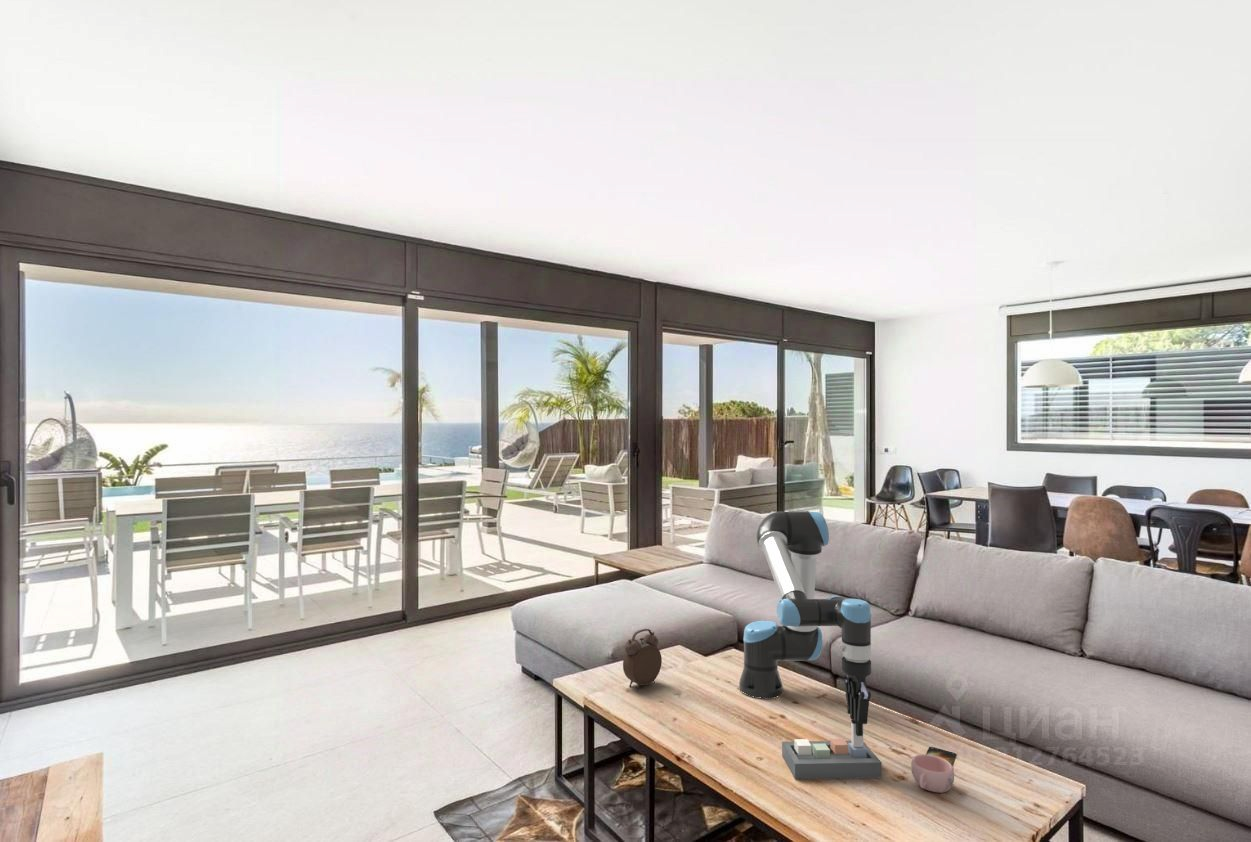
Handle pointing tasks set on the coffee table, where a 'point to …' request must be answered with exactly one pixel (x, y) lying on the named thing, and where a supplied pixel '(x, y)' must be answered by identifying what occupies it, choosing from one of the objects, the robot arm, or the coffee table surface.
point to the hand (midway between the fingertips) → (857, 745)
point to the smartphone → (942, 754)
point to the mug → (932, 773)
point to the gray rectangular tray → (831, 764)
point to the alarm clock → (642, 659)
